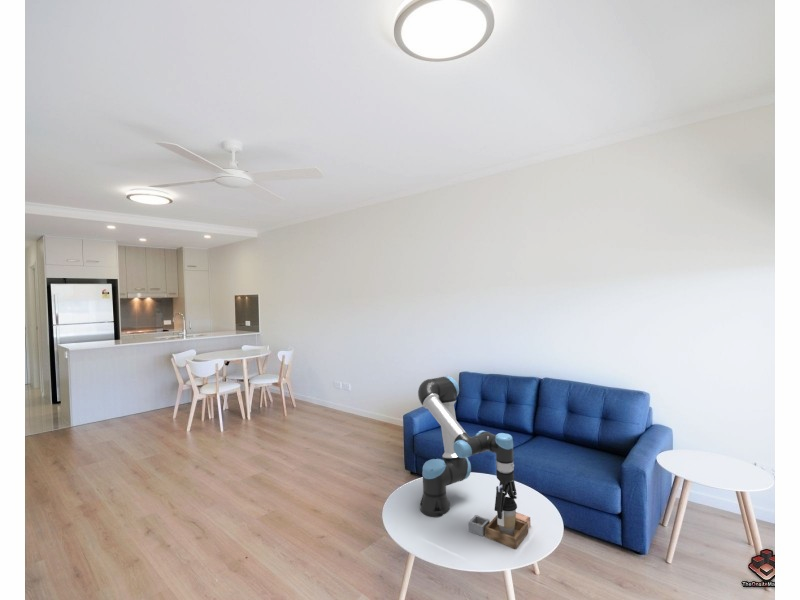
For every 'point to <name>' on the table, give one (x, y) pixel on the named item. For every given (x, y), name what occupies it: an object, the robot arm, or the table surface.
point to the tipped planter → (523, 518)
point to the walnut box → (494, 534)
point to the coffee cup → (509, 516)
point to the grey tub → (476, 527)
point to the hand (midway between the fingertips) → (506, 518)
